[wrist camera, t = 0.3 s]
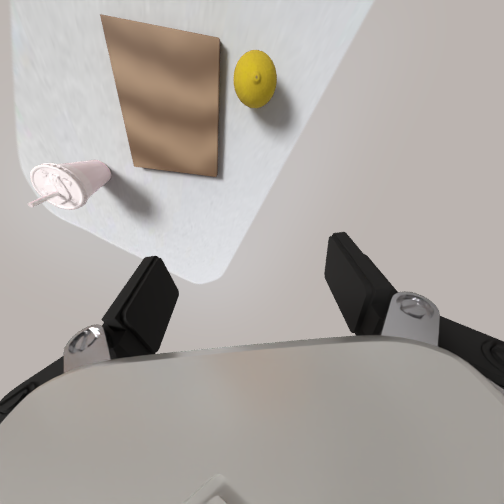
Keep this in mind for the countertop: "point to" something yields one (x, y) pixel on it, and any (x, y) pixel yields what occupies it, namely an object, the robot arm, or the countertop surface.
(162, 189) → the countertop surface
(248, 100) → the lemon
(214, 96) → the cutting board
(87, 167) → the smoothie
